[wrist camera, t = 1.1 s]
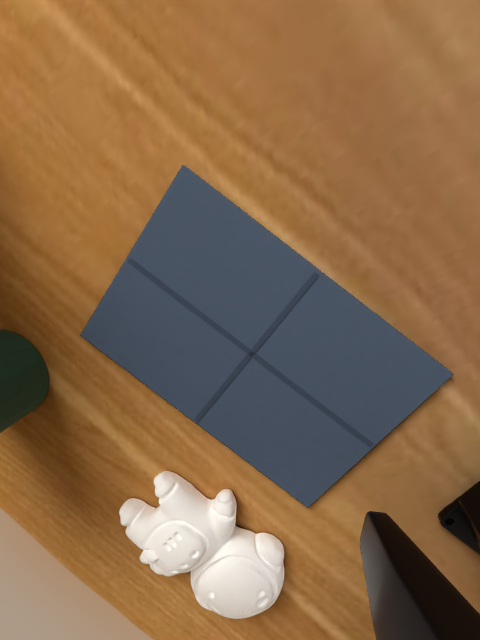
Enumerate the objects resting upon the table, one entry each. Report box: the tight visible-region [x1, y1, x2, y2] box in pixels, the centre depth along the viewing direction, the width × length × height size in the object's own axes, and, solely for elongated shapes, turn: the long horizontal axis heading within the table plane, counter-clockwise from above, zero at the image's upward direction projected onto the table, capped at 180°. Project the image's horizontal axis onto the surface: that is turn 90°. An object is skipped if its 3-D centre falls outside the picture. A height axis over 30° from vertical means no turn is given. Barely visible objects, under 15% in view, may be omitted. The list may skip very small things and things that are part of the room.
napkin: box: [80, 165, 453, 508], centre depth 20 cm, size 18×12×1 cm, turn 54°
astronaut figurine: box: [119, 471, 284, 619], centre depth 23 cm, size 9×12×3 cm
